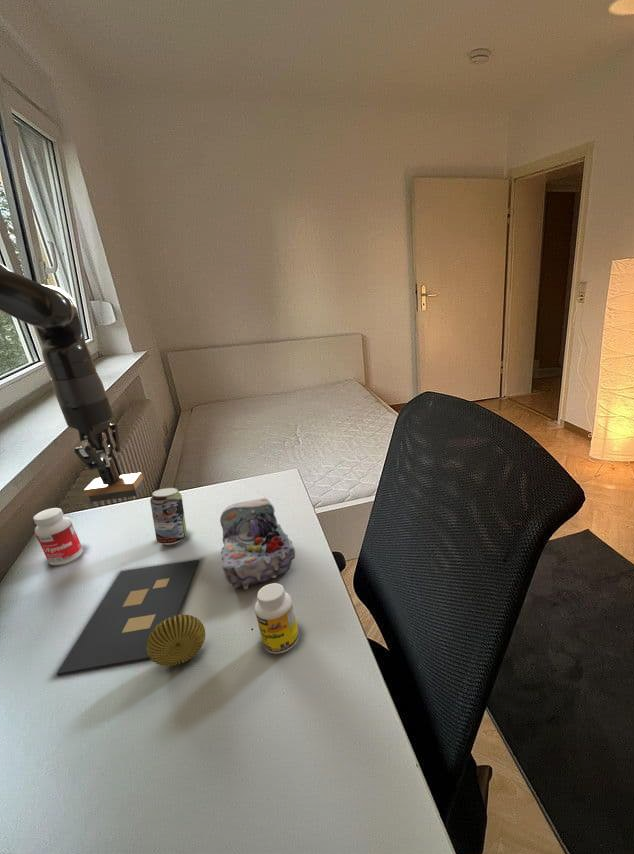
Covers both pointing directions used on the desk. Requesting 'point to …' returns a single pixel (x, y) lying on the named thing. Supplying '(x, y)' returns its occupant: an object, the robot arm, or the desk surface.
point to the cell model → (253, 544)
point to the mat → (130, 616)
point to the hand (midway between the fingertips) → (113, 479)
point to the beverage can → (168, 516)
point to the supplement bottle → (276, 618)
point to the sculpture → (175, 640)
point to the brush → (115, 486)
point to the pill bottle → (57, 536)
